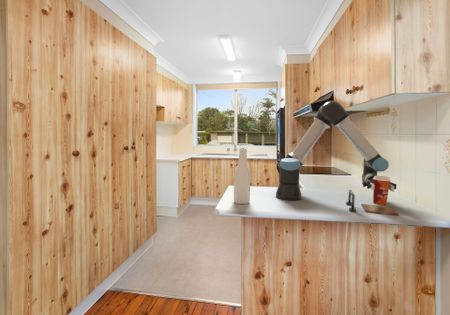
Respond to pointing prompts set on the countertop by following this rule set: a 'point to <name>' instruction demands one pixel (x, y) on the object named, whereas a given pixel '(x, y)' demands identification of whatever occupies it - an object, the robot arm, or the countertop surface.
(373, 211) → the walnut board
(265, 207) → the countertop surface
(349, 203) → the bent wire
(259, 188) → the countertop surface
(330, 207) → the countertop surface
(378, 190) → the paper cup
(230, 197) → the countertop surface
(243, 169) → the alcohol
